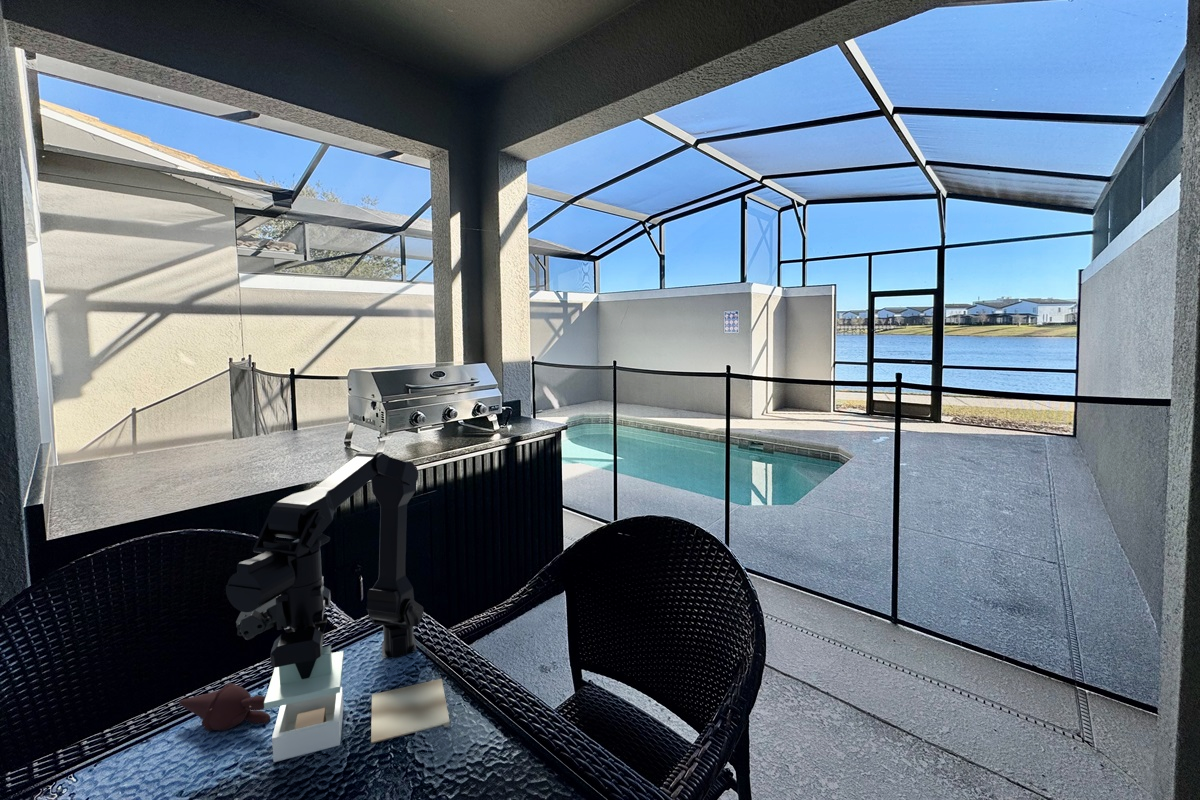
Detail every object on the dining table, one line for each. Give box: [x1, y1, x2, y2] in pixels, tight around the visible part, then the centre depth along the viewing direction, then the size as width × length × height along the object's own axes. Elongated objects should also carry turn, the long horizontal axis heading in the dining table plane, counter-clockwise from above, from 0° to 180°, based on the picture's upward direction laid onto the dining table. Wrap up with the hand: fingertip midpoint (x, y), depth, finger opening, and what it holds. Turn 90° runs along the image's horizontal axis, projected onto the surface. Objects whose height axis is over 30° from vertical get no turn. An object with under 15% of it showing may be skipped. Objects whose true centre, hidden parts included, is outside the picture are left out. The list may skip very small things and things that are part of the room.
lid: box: [263, 645, 345, 710], centre depth 84 cm, size 10×10×5 cm
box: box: [271, 686, 344, 763], centre depth 85 cm, size 9×9×4 cm
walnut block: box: [295, 708, 326, 729], centre depth 85 cm, size 4×4×2 cm
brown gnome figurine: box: [178, 682, 271, 732], centre depth 87 cm, size 7×7×15 cm
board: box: [370, 678, 451, 745], centre depth 91 cm, size 12×12×1 cm
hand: (306, 672), depth 84 cm, fingers closed on lid, 2 cm apart
